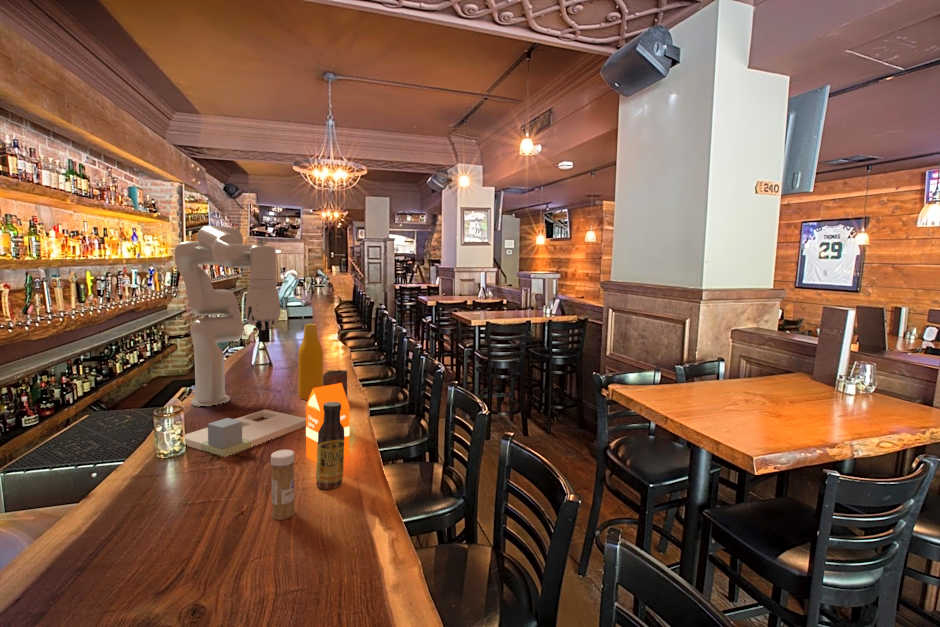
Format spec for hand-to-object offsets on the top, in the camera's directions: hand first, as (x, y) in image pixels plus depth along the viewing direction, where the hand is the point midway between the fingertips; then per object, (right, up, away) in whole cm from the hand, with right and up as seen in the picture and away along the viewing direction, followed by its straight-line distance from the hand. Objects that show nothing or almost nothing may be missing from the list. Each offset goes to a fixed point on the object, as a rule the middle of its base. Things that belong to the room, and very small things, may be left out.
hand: (264, 341), depth 149 cm
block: (-2, -27, -20) cm, 34 cm away
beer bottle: (+3, -24, +34) cm, 42 cm away
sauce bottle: (+33, -32, -38) cm, 59 cm away
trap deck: (-2, -28, -7) cm, 29 cm away
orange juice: (+27, -30, -22) cm, 46 cm away
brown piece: (+24, -29, -5) cm, 38 cm away
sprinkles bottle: (+27, -33, -52) cm, 67 cm away
